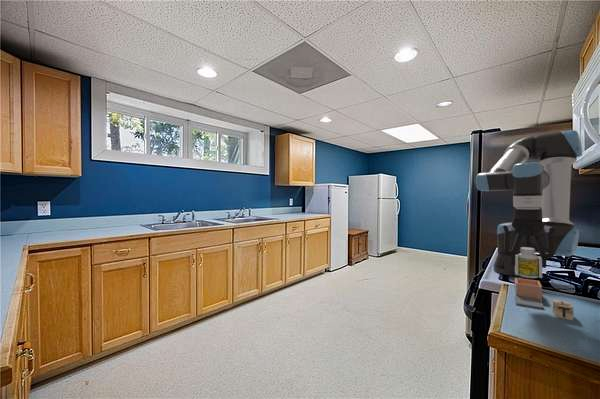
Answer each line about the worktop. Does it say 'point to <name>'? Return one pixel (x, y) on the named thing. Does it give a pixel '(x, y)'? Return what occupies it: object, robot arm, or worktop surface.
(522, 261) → the supplement bottle
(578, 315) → the worktop surface
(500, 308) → the worktop surface
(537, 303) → the slate coaster
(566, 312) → the letter cube
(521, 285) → the pink square bin
